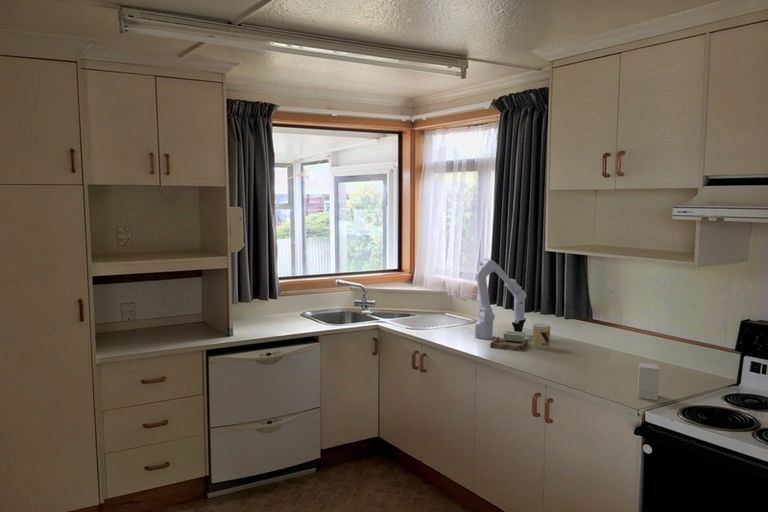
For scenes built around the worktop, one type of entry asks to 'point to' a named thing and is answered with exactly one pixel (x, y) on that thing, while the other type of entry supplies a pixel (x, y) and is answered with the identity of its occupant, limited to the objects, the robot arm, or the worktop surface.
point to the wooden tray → (507, 345)
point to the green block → (514, 336)
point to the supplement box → (648, 381)
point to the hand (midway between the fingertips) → (518, 333)
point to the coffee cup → (541, 335)
